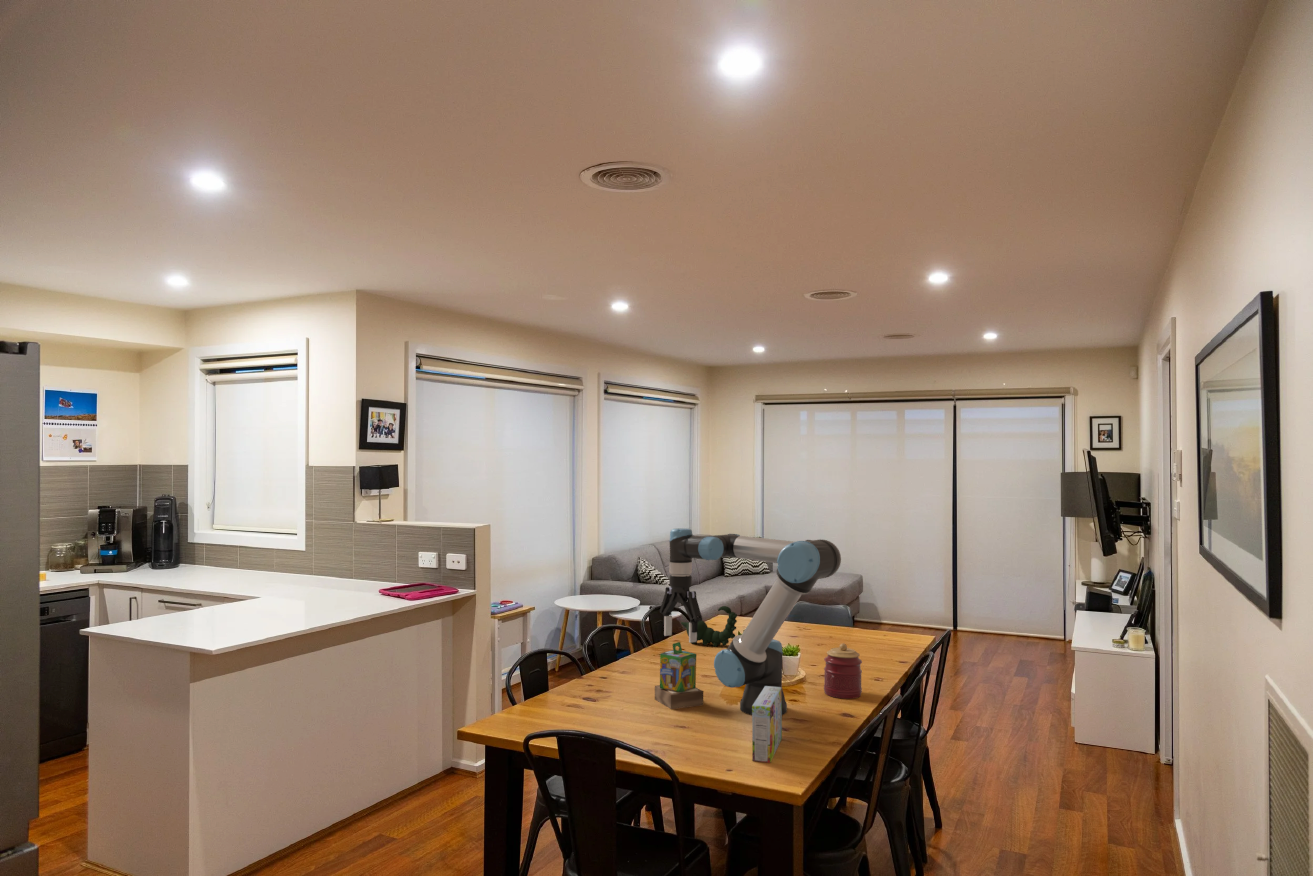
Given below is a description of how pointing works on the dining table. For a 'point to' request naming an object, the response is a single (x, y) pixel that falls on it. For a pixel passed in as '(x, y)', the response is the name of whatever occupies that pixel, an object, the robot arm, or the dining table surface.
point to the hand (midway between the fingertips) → (680, 638)
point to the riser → (679, 697)
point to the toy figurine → (715, 636)
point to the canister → (843, 673)
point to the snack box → (766, 724)
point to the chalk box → (677, 670)
